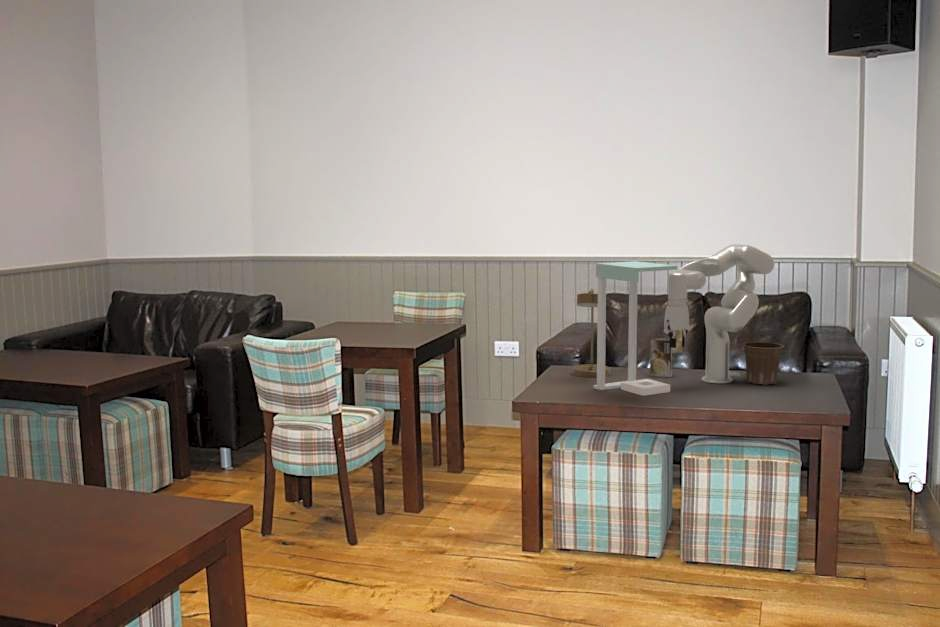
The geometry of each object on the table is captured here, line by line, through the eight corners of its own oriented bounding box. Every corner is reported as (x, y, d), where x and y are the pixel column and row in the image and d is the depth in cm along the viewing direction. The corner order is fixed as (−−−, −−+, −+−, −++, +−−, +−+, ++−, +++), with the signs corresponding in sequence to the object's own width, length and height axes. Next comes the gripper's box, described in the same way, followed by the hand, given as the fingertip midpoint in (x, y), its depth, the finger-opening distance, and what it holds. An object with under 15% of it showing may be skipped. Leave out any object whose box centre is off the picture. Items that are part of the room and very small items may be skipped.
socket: (647, 385, 403) (647, 378, 403) (670, 392, 391) (670, 384, 391) (620, 389, 396) (621, 382, 396) (642, 395, 384) (642, 388, 384)
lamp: (567, 381, 414) (568, 292, 409) (573, 369, 440) (573, 286, 435) (608, 382, 410) (609, 293, 405) (611, 370, 437) (612, 286, 432)
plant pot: (777, 378, 416) (779, 341, 413) (786, 386, 400) (787, 348, 397) (738, 378, 417) (739, 341, 415) (745, 386, 401) (746, 347, 399)
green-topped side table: (631, 383, 409) (633, 261, 402) (674, 394, 386) (677, 265, 379) (593, 388, 400) (594, 263, 393) (634, 400, 376) (636, 268, 369)
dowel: (680, 351, 400) (680, 327, 398) (683, 352, 396) (683, 328, 394) (670, 351, 400) (671, 327, 398) (673, 353, 396) (673, 328, 394)
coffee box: (672, 374, 426) (673, 338, 424) (671, 377, 420) (671, 340, 418) (651, 373, 429) (651, 337, 427) (649, 376, 423) (650, 340, 421)
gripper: (686, 300, 402) (685, 343, 405) (655, 303, 394) (655, 347, 396) (699, 301, 396) (698, 346, 398) (668, 305, 387) (667, 350, 390)
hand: (676, 346), depth 397 cm, fingers closed on dowel, 4 cm apart
